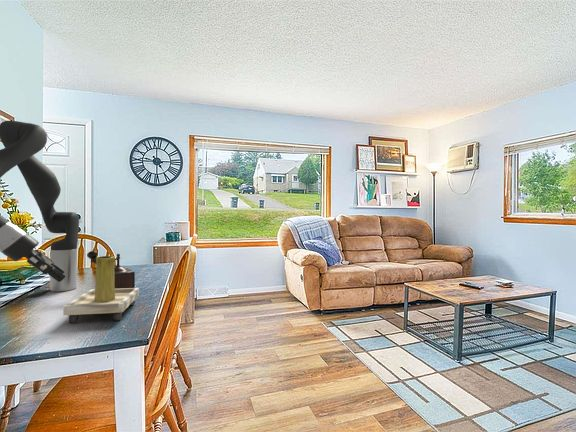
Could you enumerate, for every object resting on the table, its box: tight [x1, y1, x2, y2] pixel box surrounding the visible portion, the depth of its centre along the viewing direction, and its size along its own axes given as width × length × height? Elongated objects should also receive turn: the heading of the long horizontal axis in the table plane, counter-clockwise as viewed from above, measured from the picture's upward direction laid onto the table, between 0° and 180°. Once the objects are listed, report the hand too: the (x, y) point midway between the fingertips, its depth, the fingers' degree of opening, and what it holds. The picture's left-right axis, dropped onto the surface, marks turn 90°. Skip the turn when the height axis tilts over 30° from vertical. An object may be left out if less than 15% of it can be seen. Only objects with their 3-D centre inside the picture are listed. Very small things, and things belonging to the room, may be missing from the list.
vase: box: [94, 255, 116, 302], centre depth 101 cm, size 6×6×14 cm
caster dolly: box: [62, 287, 140, 324], centre depth 101 cm, size 20×16×6 cm
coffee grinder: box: [86, 250, 136, 289], centre depth 124 cm, size 16×11×18 cm
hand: (62, 276), depth 94 cm, fingers open, 8 cm apart
